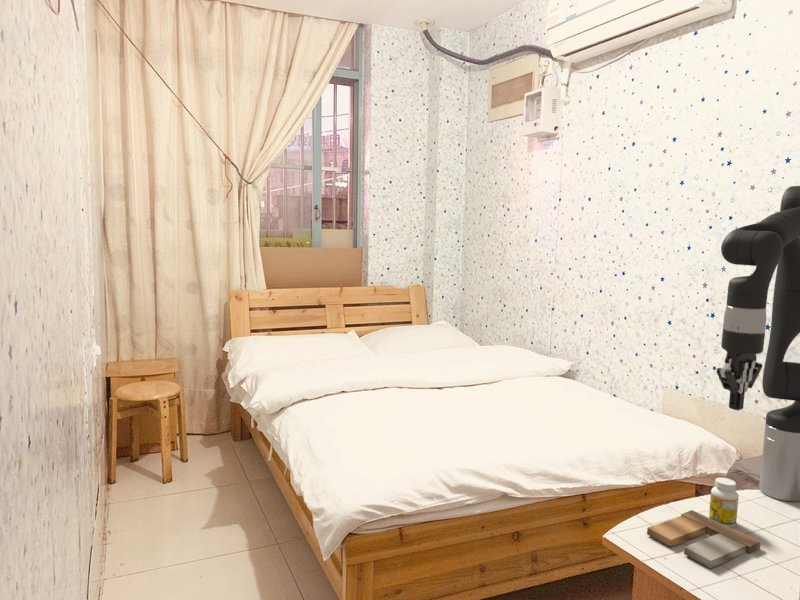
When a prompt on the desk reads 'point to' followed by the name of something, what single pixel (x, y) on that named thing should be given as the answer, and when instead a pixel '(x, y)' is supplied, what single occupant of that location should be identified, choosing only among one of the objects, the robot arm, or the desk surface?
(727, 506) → the supplement bottle
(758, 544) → the walnut panel
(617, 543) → the desk surface
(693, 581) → the desk surface
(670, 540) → the chestnut plank
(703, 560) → the grey ash plank
